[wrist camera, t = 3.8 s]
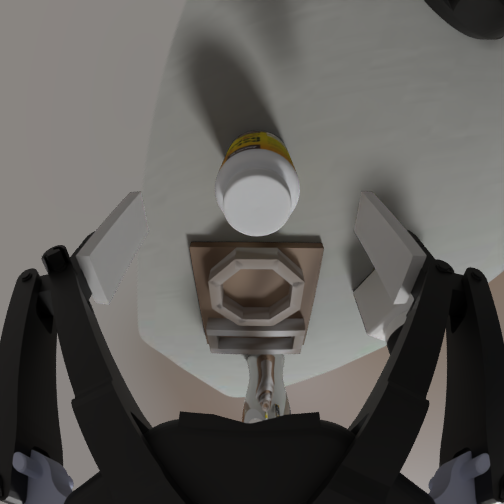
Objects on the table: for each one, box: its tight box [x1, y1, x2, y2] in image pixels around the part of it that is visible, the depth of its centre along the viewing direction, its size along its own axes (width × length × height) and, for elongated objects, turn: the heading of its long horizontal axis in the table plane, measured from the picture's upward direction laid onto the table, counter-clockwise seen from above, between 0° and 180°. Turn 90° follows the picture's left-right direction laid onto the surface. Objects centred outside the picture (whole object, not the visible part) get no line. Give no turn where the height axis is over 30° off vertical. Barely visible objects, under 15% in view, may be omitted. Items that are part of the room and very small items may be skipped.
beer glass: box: [242, 354, 291, 423], centre depth 36 cm, size 7×7×15 cm
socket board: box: [190, 242, 324, 354], centre depth 32 cm, size 14×17×3 cm
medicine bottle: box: [353, 269, 414, 355], centre depth 27 cm, size 7×7×12 cm
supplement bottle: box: [215, 131, 300, 236], centre depth 19 cm, size 6×6×10 cm
